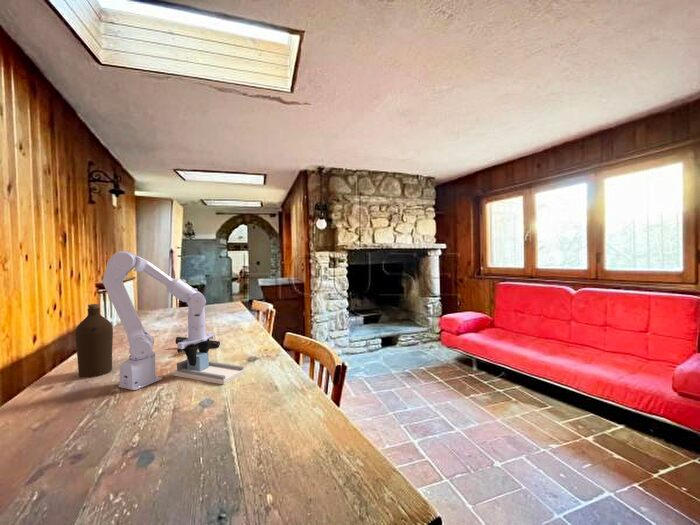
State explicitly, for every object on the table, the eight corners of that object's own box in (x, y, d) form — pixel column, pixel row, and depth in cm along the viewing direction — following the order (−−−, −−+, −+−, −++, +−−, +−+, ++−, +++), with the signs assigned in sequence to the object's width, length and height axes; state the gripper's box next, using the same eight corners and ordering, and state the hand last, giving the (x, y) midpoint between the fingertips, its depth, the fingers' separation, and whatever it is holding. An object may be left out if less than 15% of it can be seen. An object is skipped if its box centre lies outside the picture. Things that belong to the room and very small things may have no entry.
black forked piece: (206, 346, 130) (221, 337, 145) (160, 341, 131) (180, 332, 146) (205, 359, 130) (220, 348, 145) (159, 354, 131) (180, 343, 146)
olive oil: (120, 369, 116) (118, 302, 115) (88, 380, 106) (85, 307, 105) (102, 366, 120) (100, 301, 119) (69, 376, 110) (67, 305, 109)
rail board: (224, 384, 101) (223, 372, 101) (173, 375, 110) (173, 364, 110) (245, 373, 111) (244, 362, 111) (196, 365, 119) (196, 355, 119)
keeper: (199, 370, 109) (199, 356, 109) (187, 368, 111) (186, 354, 111) (208, 367, 113) (208, 353, 113) (196, 365, 115) (196, 351, 115)
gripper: (187, 331, 103) (189, 371, 104) (220, 322, 117) (221, 358, 117) (172, 329, 106) (173, 369, 106) (206, 321, 120) (207, 356, 120)
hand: (197, 363), depth 112 cm, fingers closed on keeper, 4 cm apart
